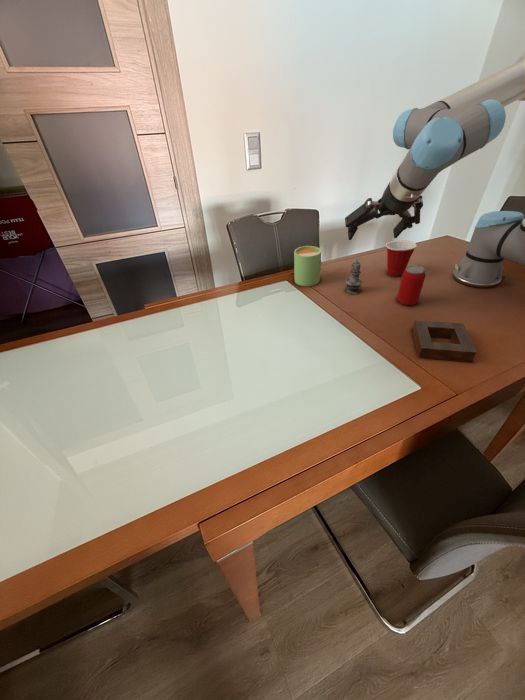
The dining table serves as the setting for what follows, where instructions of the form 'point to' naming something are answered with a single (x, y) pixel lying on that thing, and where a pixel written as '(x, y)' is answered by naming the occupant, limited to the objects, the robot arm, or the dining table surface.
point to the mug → (307, 265)
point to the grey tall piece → (354, 279)
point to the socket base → (444, 351)
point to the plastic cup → (398, 256)
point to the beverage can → (411, 285)
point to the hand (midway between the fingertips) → (372, 234)
